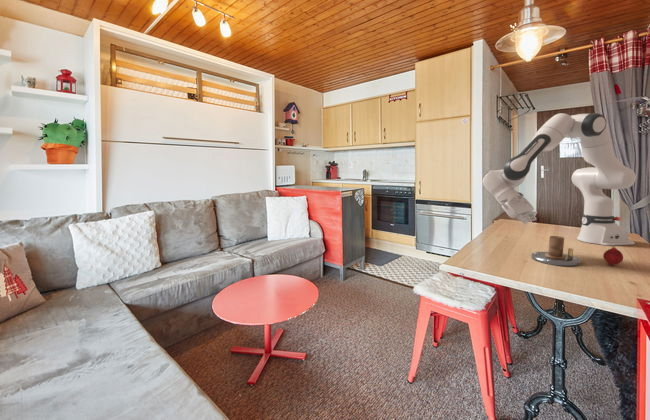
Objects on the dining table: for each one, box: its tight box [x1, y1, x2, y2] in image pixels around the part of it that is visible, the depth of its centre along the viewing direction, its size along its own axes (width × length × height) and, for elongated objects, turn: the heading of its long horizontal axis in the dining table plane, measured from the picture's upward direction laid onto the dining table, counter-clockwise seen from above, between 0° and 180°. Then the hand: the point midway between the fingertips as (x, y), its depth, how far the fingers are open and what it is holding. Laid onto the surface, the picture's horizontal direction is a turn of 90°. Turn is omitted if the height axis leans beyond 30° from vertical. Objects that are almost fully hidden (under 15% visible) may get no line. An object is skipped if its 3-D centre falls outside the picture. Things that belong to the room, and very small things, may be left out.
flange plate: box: [530, 247, 581, 267], centre depth 130 cm, size 17×17×6 cm
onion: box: [602, 245, 624, 267], centre depth 121 cm, size 6×6×8 cm
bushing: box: [545, 235, 566, 260], centre depth 129 cm, size 7×7×9 cm
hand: (531, 221), depth 136 cm, fingers open, 8 cm apart
